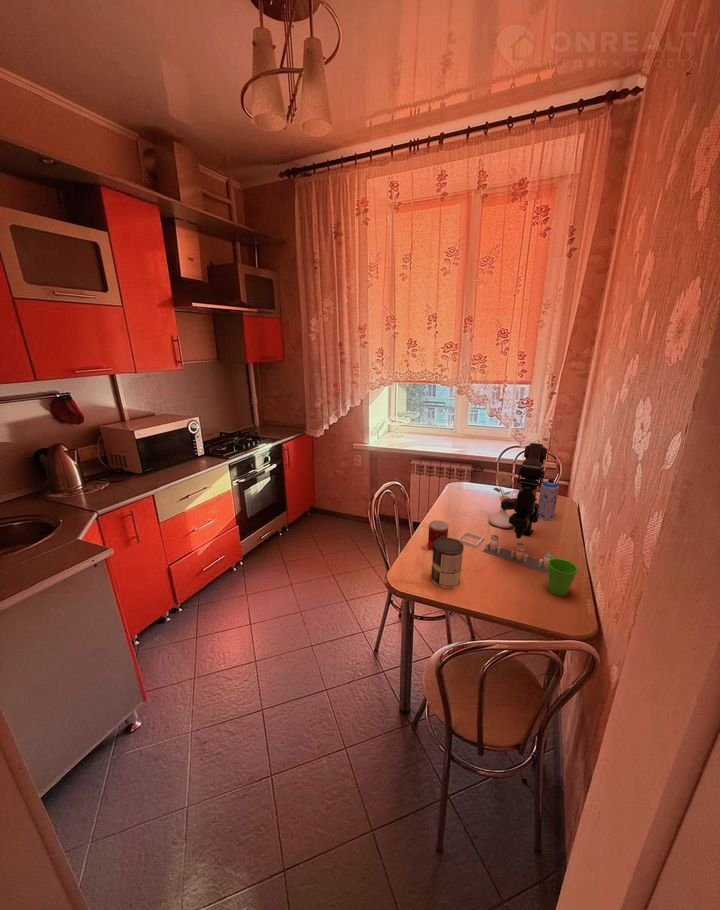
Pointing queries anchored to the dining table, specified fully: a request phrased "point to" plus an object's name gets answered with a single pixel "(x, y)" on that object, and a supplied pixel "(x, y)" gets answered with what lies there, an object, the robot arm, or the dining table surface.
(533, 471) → the robot arm
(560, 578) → the cup
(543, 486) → the aerosol can
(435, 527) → the canned food
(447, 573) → the coffee can
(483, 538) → the tray
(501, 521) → the flower in vase
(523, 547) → the cylinder
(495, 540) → the cylinder
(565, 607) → the dining table surface
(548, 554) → the cylinder
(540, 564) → the fuse block
